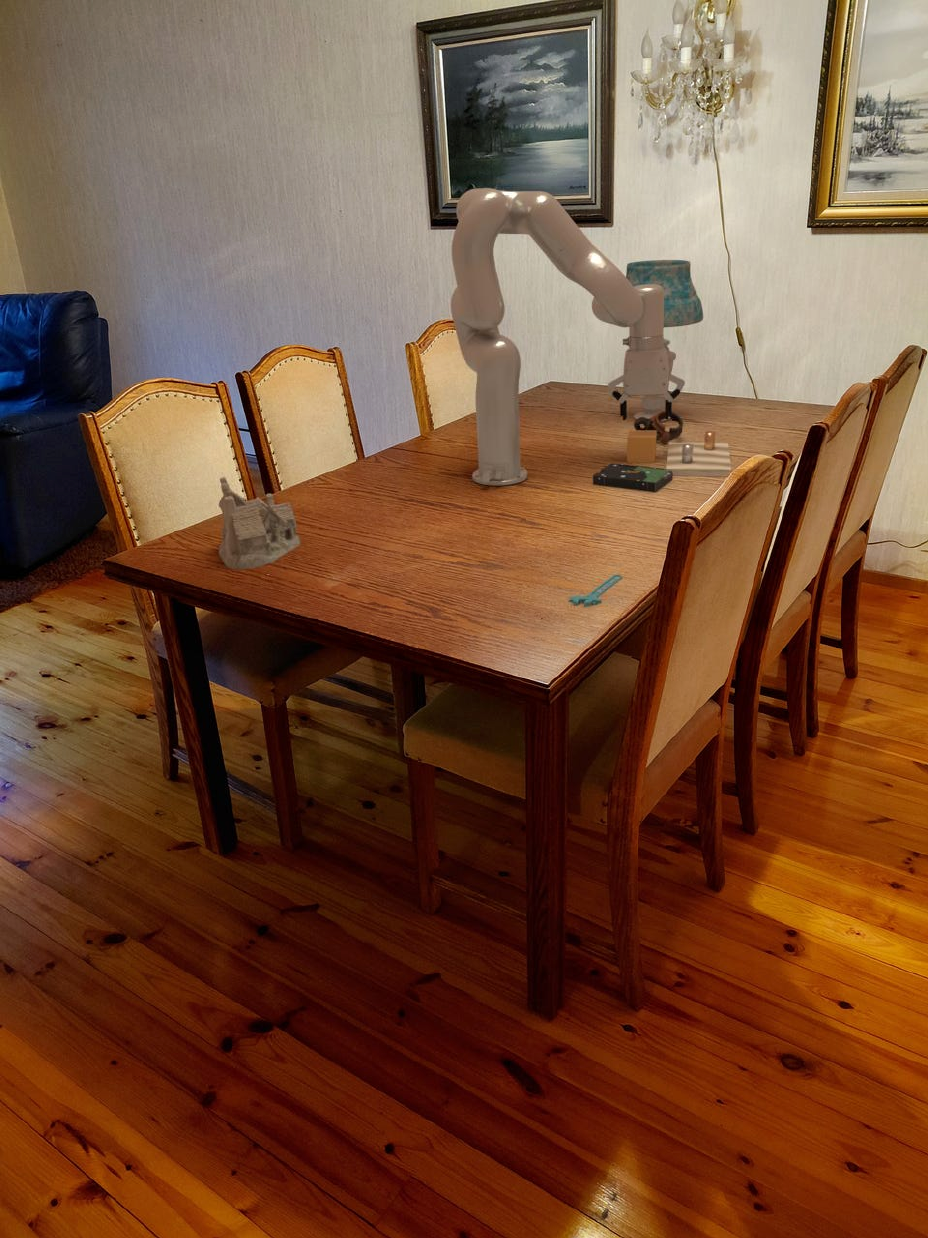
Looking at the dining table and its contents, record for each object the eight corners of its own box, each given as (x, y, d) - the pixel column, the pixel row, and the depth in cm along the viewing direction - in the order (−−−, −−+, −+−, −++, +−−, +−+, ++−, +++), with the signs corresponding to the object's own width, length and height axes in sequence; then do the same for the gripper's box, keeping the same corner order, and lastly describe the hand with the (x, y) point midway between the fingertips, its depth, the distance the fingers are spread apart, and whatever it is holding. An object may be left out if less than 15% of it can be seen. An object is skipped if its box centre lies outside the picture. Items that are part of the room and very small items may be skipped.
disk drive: (592, 487, 202) (656, 494, 195) (592, 475, 201) (656, 481, 194) (610, 474, 210) (673, 480, 203) (610, 462, 209) (673, 468, 201)
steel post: (692, 463, 207) (693, 446, 205) (681, 463, 207) (682, 446, 206) (692, 460, 209) (693, 443, 207) (681, 460, 209) (682, 443, 208)
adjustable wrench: (592, 605, 144) (564, 599, 147) (592, 611, 145) (564, 604, 148) (632, 574, 155) (605, 569, 157) (632, 580, 155) (605, 574, 158)
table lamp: (604, 410, 263) (606, 261, 245) (688, 406, 261) (696, 256, 244) (613, 431, 241) (616, 269, 224) (705, 427, 240) (715, 264, 223)
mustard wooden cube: (654, 462, 214) (655, 437, 211) (627, 462, 215) (627, 437, 213) (655, 455, 220) (656, 430, 217) (628, 454, 221) (629, 430, 218)
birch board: (730, 476, 202) (731, 469, 201) (665, 475, 205) (666, 468, 204) (727, 449, 221) (728, 443, 220) (668, 448, 224) (668, 442, 223)
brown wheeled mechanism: (672, 435, 237) (684, 410, 231) (675, 460, 231) (688, 435, 225) (627, 426, 236) (639, 401, 229) (629, 451, 230) (641, 426, 223)
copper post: (714, 450, 215) (715, 433, 214) (704, 450, 216) (705, 433, 214) (714, 447, 217) (715, 431, 216) (703, 447, 218) (704, 431, 216)
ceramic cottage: (221, 572, 167) (212, 491, 161) (217, 545, 181) (209, 470, 175) (307, 564, 171) (302, 485, 165) (296, 538, 185) (291, 465, 179)
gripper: (606, 347, 205) (606, 423, 212) (685, 344, 201) (683, 421, 208) (608, 341, 211) (609, 415, 219) (686, 338, 207) (684, 413, 215)
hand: (645, 418), depth 214 cm, fingers open, 9 cm apart
